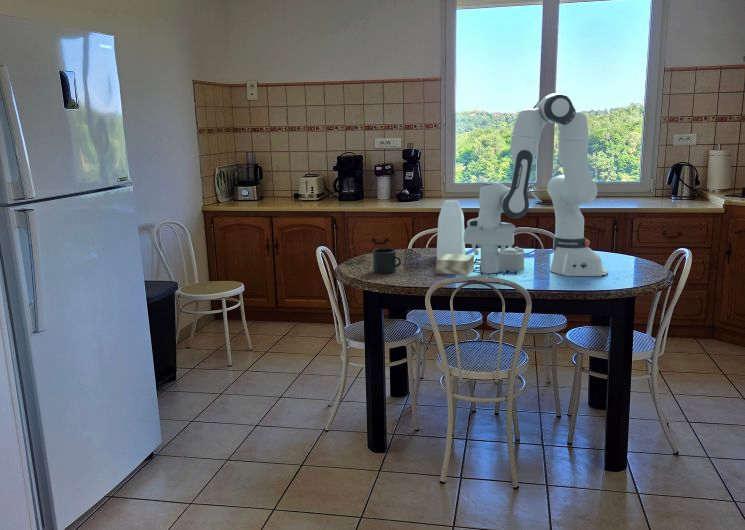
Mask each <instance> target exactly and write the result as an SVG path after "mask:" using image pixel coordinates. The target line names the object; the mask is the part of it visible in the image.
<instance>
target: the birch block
mask: <svg viewBox="0 0 745 530" xmlns="http://www.w3.org/2000/svg"><path fill="white" fill-rule="evenodd" d="M474 261H475V255H474V254H465V255H459V254H443V255H442V256H440V257H439V258H438V259H436V261H435V265H436V267H435V273H436V274H447V275H463V276H468V275H469V274H470V273H472V271H473V270H474V267H475V266H474V265H475V263H474Z"/></svg>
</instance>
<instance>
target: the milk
mask: <svg viewBox="0 0 745 530" xmlns="http://www.w3.org/2000/svg"><path fill="white" fill-rule="evenodd" d="M437 220H438V221H437V238H436V239H437V240H436V241H437V242H436V257H435V258H439V257H440V256H442V255H443V254H459V255H466V244H465V243H464V233H465V217H464V212H463V210H462V207H461V204H460V202H459V200H445V201H444V203H443V204H442V206H441V210H440V212H439V216H438V219H437Z"/></svg>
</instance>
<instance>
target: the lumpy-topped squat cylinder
mask: <svg viewBox="0 0 745 530" xmlns="http://www.w3.org/2000/svg"><path fill="white" fill-rule="evenodd" d="M501 250H502V248H501V247H500V249H499V250H498V252H500V251H501ZM499 269H500V271H509V270H512V271H511V272H519V271H518V270H520V271H522V270H524V269H525V251H524V248H523V247H522V248H521V247H518V246H515V247H513V246H507V248H506V247H505V248H504V250H503V251H502V257H501V256H498V270H499Z"/></svg>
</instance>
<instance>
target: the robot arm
mask: <svg viewBox="0 0 745 530" xmlns="http://www.w3.org/2000/svg"><path fill="white" fill-rule="evenodd" d="M547 124H556V126H557V128H558V132H559V134H558V151H557V152H558V153H557V155H558V156H557V158H558V160H557V161H558V162H559V164H560V167H561V168H562V172H563V174H560V175H556V176H554V177H552V178H551V179H550V180H549V181H548V183H547V186H546V190H547V194H548V195H549V197H550V199H551V202H552V206H553V210H554V216H555V231H554V232H555V234H554V237H553V242H552V243H553V244H552V245H553V246H552V249H553V256H552V262H551V265H550V268H549V272H552V273H554V274H559V275H562V276H567V277H603V276H602V275H605V276H607V275H608V274H607V273H608V269H607V268H605V267H603V262H602V259H601V257H600V255H599V254H598V253H596V252H595V251H594V250H592V249H591V248H590V247H589V246H590V243H591V242H590V240H589V239H588V238H586V237H585V236H584V235H585V234H584V233H585V232H584V231H585V217H584V215H583V213H582V212H581V209H580V206H581V205H586V204H590V203H592V202H593V201H594V200H596V197H597V195H598V185H597V184H596V183H595V181H594V180H593V178H592V175H591V171H590V167H589V161H588V160H589V159H588V155H589V154H588V153H589V151H588V149H589V127H588V119H587V115H586V114H584V112H581V111H577V110H576V108H575V106H574V105H573V102H572V100H571V99H570V98H569V96H567V95H566V94H564V93H550V94H548V95H545V96H542V97H541V98H540V99H539V100H538V101H537V102H536V104H535V105H534V106H533V108H529V107H528V108H524V109H522V110H521V111H520V112H518V114H517V116H516V120H515V122H514V125H513V129H512V133H511V139H510V145H509V146H510V147H509V148H510V149H509V150H510V151H509V152H510V155H511V157H512V162H513V173H512V177H511V178H512V179H511V183H510V187H508V186H505V185H504V184H503V183H501V182H500V181H490V182H485V183H484V184H482V185H481V187H480V189H479V197H478V206H479V211H478V217H475V218H471V219H469V220H467V222H466V225H467V227H465V228H464V243H465V245H467V244H468V245H471V247H472V249H473V251H474V253H473V255H474V256H479V253H480V252H479V250H477V248H476V246H477V245H480V246H481V245H483V244H491V245H498V246H500V249H501V248H502V250H501V251H500V250H499V251H500V252H499V251H498V256H501V257H502V251H503V250H504V248H506V246H507V247H509V246H511V247H513V245H514V244H515V237H514V236H515V235H514V234H515V233H516V226H515V224H513V223H512V222H501V220H502V219H501V217H502V214H503V213H504V214H505V216H506V217H508V218H510V219H514V220H515V219H520V218H523V217H524V216H525V215H526V214H527V212H528V211H529V208H530V201H529V196H528V186H529V181H530V175H531V172H532V171H531V170H532V166H533V163H534V160H535V158H536V155H537V152H538V148H539V145H540V141H541V138H542V137H541V135H542V131H543V129H544V127H545V126H546V125H547ZM606 274H607V275H606Z"/></svg>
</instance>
